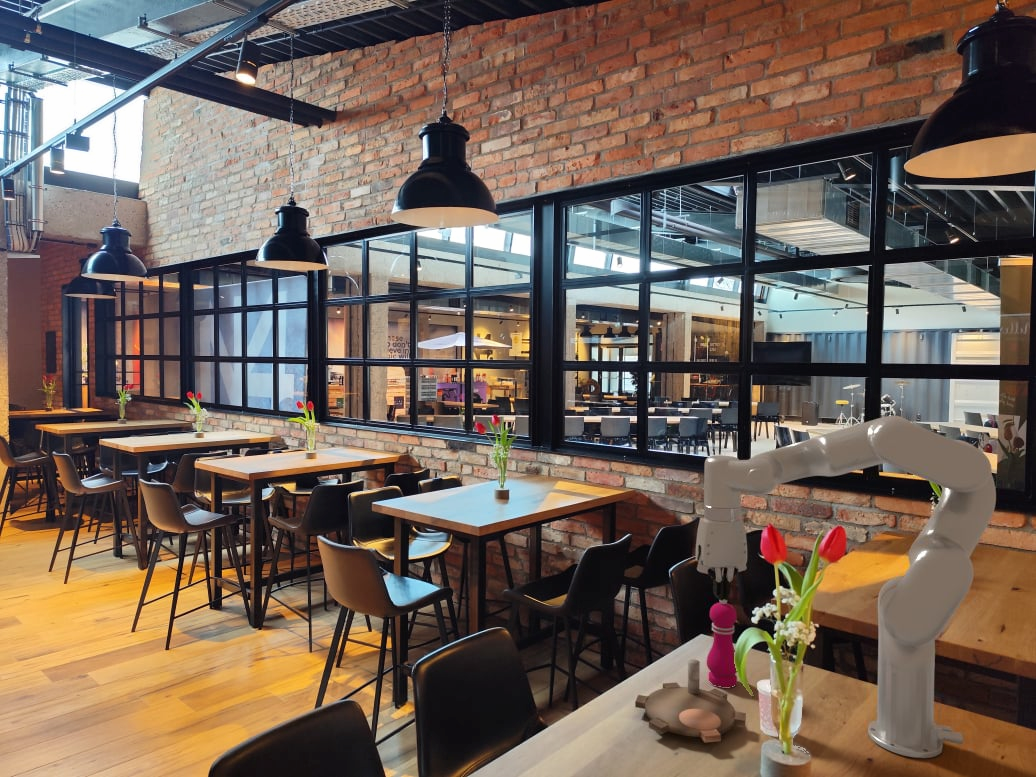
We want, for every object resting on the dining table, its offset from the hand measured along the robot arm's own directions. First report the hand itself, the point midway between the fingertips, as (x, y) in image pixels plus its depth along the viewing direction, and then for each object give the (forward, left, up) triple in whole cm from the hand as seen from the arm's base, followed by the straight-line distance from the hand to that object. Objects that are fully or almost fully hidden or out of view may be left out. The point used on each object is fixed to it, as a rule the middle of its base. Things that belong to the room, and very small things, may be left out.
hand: (721, 598), depth 147 cm
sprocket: (+5, +10, -21) cm, 24 cm away
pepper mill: (0, -10, -23) cm, 26 cm away
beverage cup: (-11, +8, -23) cm, 27 cm away
